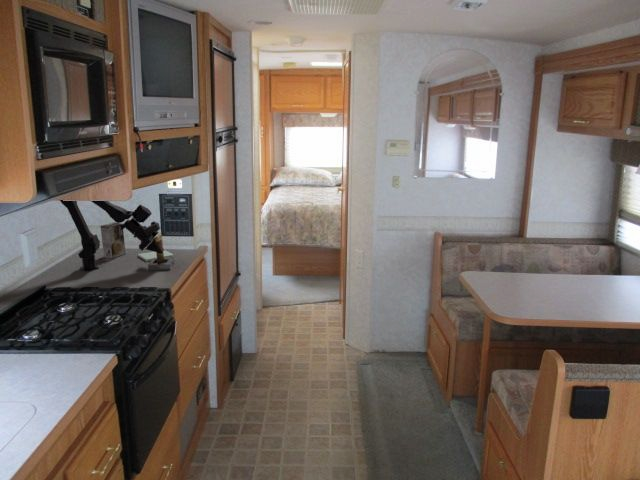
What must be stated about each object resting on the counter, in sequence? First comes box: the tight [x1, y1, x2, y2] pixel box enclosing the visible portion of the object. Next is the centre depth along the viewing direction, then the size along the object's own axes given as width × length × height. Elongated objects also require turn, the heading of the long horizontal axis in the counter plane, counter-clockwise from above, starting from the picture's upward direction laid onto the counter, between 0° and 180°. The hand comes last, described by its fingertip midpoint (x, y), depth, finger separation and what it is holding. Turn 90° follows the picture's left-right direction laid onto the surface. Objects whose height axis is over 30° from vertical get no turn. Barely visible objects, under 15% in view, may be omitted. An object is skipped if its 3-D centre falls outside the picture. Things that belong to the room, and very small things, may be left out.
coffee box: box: [99, 221, 127, 259], centre depth 272 cm, size 9×6×16 cm
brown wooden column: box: [155, 233, 165, 263], centre depth 253 cm, size 5×8×15 cm, turn 5°
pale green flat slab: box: [137, 249, 175, 263], centre depth 271 cm, size 14×12×1 cm
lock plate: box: [147, 256, 176, 271], centre depth 255 cm, size 10×12×2 cm
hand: (162, 251), depth 253 cm, fingers open, 4 cm apart
